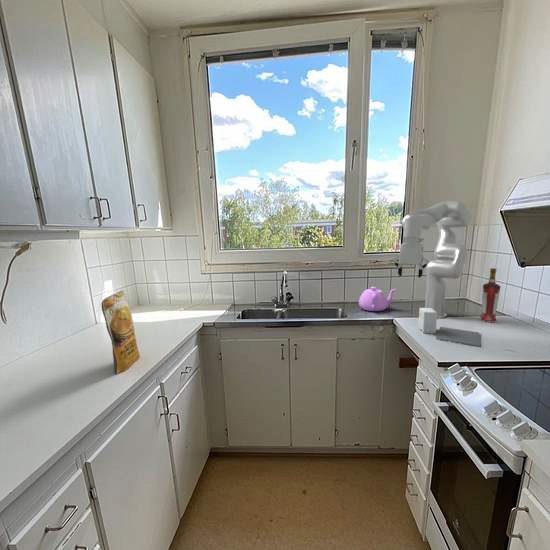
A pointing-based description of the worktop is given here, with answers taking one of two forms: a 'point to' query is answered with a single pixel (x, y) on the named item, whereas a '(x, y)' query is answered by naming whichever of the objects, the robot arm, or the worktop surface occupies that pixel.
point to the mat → (459, 336)
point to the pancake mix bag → (120, 331)
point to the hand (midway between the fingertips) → (409, 276)
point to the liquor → (490, 298)
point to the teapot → (374, 299)
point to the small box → (427, 320)
